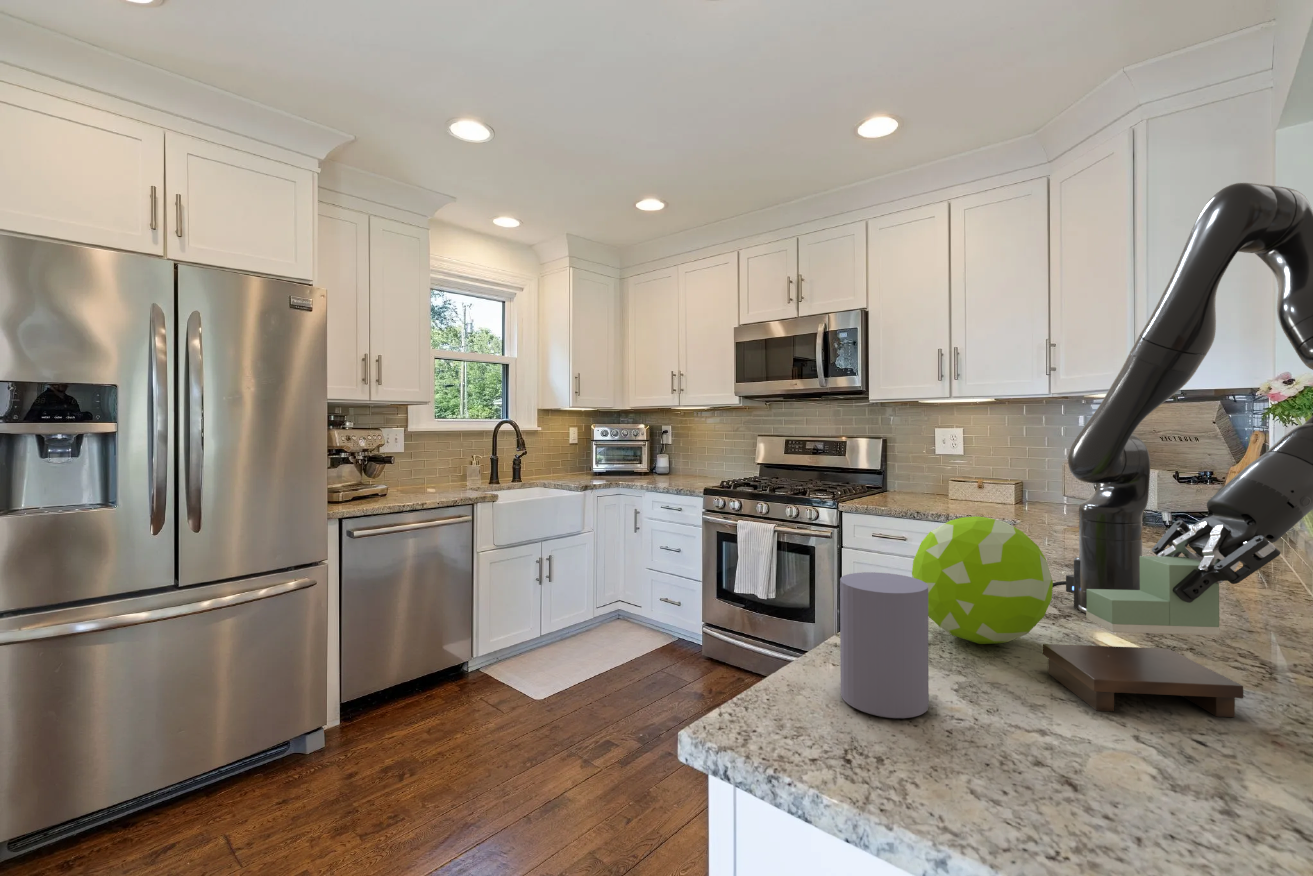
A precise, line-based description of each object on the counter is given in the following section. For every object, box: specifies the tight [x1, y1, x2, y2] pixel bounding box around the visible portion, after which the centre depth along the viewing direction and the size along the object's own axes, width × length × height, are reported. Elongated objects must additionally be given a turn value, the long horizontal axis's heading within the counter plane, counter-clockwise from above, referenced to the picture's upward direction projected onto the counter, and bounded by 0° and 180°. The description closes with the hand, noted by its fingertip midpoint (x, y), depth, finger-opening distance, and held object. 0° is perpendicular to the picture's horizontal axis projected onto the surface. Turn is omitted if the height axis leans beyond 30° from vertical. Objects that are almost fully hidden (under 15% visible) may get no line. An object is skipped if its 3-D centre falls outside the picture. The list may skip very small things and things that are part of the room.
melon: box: [911, 515, 1054, 645], centre depth 96 cm, size 20×25×20 cm
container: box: [839, 571, 930, 719], centre depth 74 cm, size 10×10×15 cm
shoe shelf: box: [1042, 643, 1244, 718], centre depth 76 cm, size 16×12×4 cm
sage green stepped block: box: [1085, 555, 1221, 636], centre depth 75 cm, size 12×6×8 cm, turn 83°
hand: (1162, 590), depth 75 cm, fingers closed on sage green stepped block, 5 cm apart
